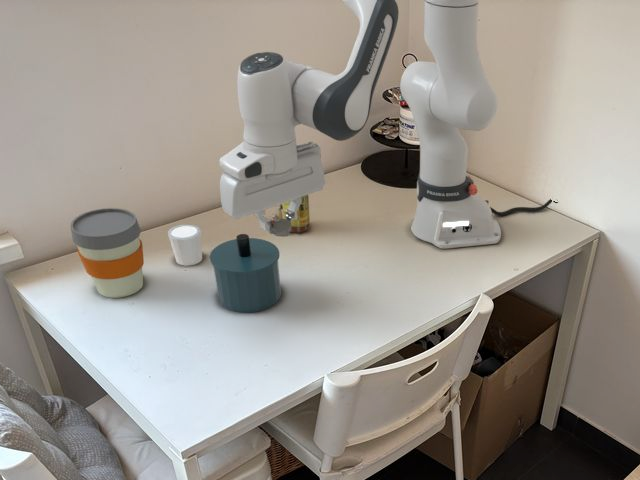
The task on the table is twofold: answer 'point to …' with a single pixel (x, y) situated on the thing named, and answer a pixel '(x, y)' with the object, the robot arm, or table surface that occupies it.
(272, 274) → the pot
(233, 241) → the pot lid
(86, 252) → the reusable coffee cup
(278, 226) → the figurine
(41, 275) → the table surface
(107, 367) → the table surface
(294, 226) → the sauce bottle
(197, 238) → the white cylinder
